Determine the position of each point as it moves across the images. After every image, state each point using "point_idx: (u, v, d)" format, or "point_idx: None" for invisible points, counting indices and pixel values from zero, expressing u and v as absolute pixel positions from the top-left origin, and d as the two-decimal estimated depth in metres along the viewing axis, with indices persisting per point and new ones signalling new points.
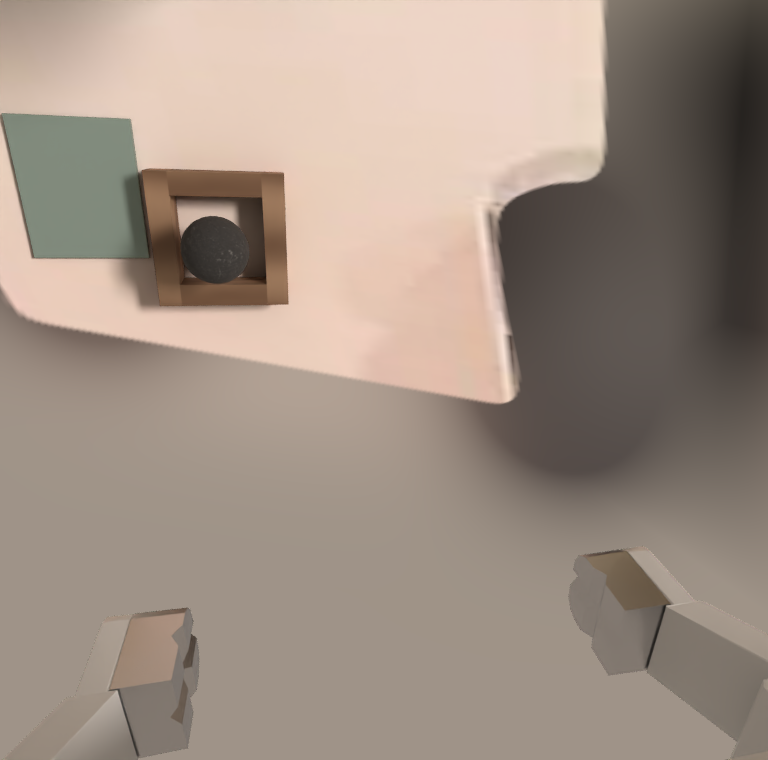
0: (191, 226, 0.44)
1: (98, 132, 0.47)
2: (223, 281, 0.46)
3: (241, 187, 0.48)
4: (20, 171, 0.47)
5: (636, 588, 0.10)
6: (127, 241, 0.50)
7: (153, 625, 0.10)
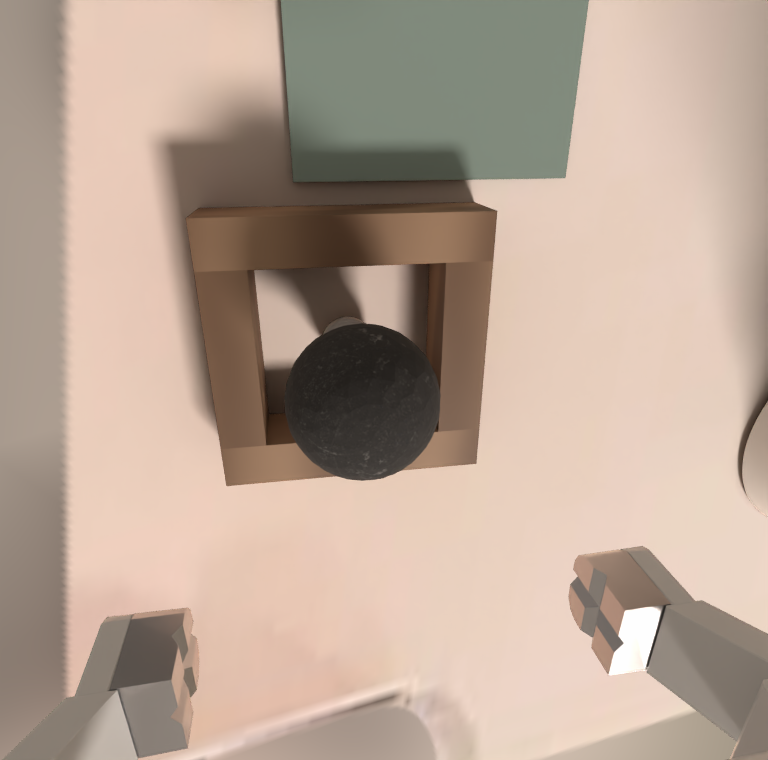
0: (426, 366, 0.18)
1: (548, 110, 0.23)
2: (299, 440, 0.18)
3: (456, 397, 0.25)
4: None
5: (636, 588, 0.10)
6: (328, 137, 0.22)
7: (153, 625, 0.10)
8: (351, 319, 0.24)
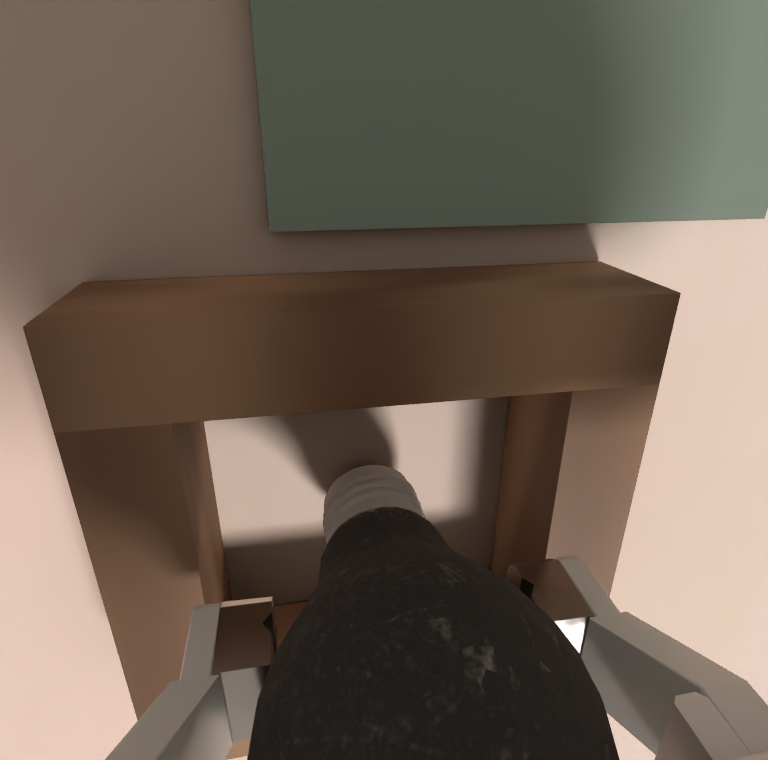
0: (595, 709, 0.07)
1: (754, 94, 0.12)
2: None
3: None
4: None
5: (562, 599, 0.10)
6: (339, 143, 0.11)
7: (242, 613, 0.10)
8: (379, 475, 0.13)
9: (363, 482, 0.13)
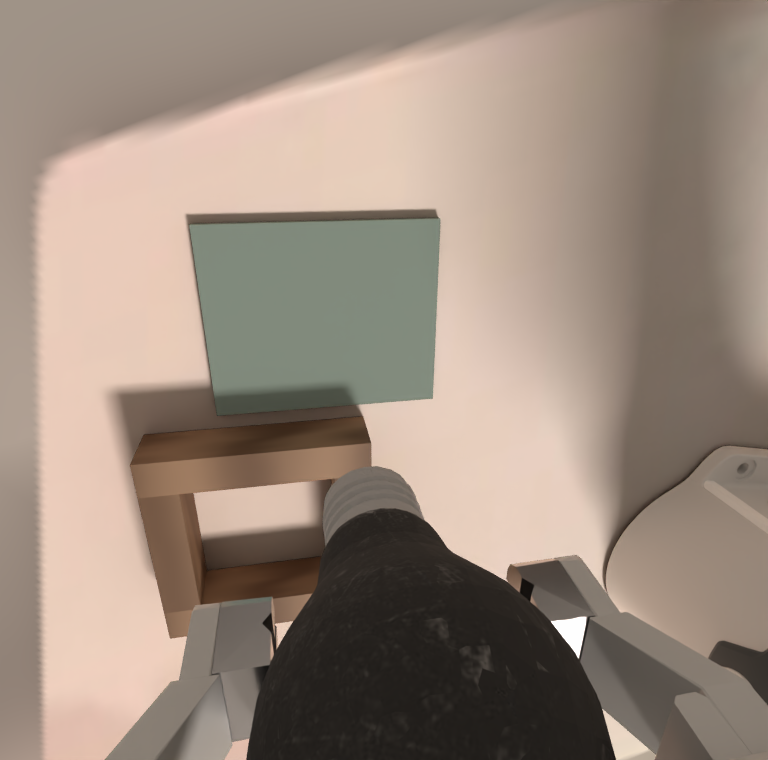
0: (591, 708, 0.07)
1: (414, 356, 0.30)
2: None
3: None
4: (349, 229, 0.26)
5: (562, 599, 0.10)
6: (242, 385, 0.28)
7: (242, 613, 0.10)
8: (378, 477, 0.13)
9: (362, 484, 0.13)
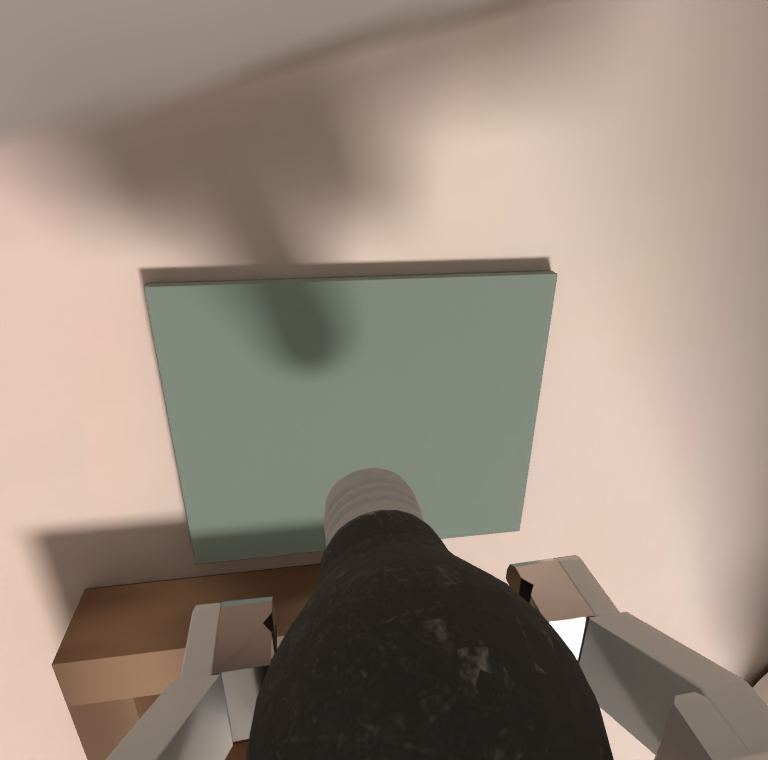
0: (589, 710, 0.07)
1: (497, 475, 0.19)
2: None
3: None
4: (411, 292, 0.16)
5: (561, 599, 0.10)
6: (235, 521, 0.18)
7: (243, 613, 0.10)
8: (379, 478, 0.13)
9: (363, 485, 0.13)
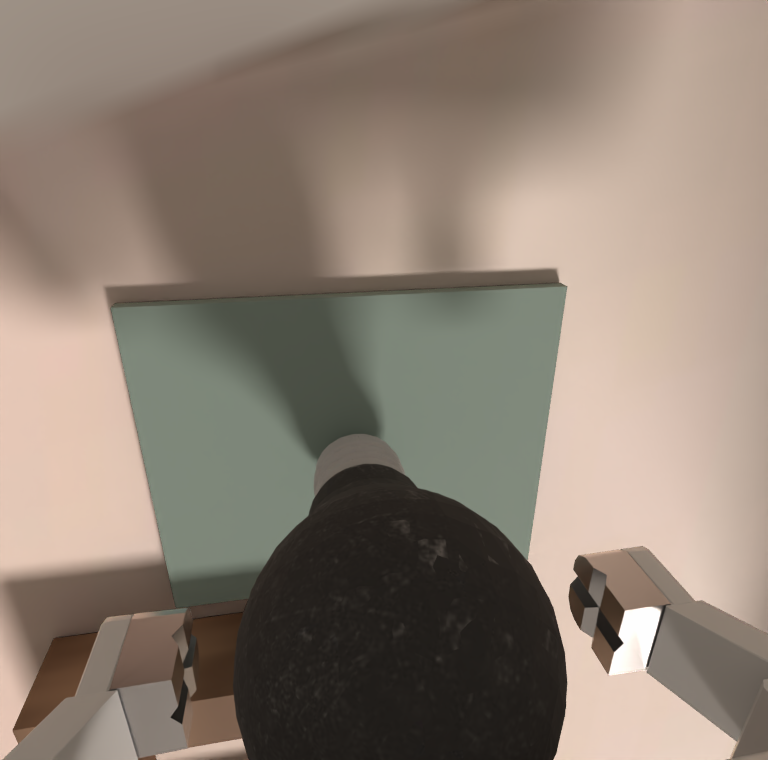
0: (539, 601, 0.08)
1: (503, 503, 0.18)
2: None
3: None
4: (408, 308, 0.14)
5: (636, 588, 0.10)
6: (218, 561, 0.17)
7: (153, 625, 0.10)
8: (364, 441, 0.14)
9: (349, 447, 0.14)
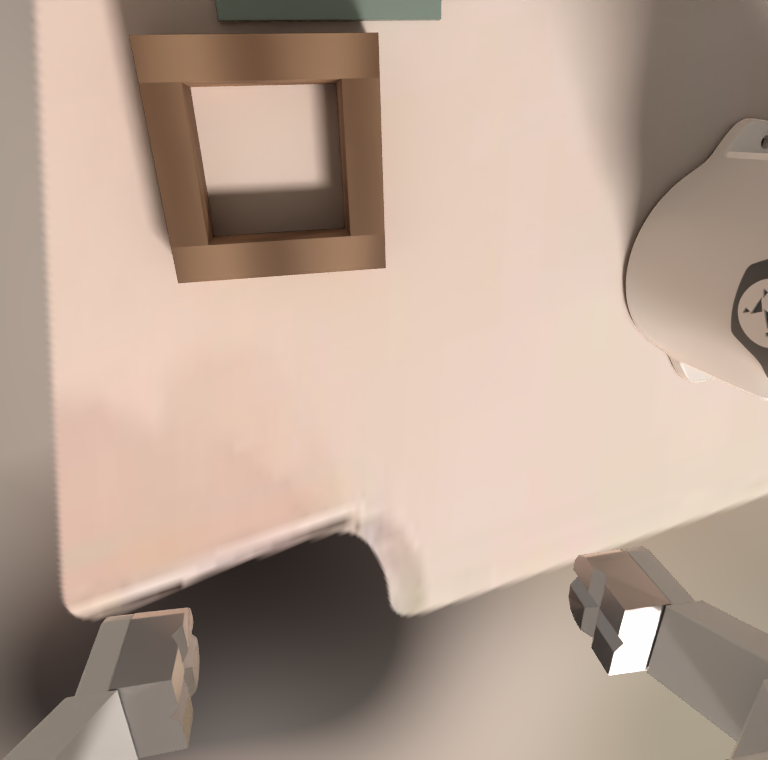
0: None
1: None
2: None
3: (362, 204, 0.30)
4: None
5: (636, 588, 0.10)
6: None
7: (153, 625, 0.10)
8: None
9: None
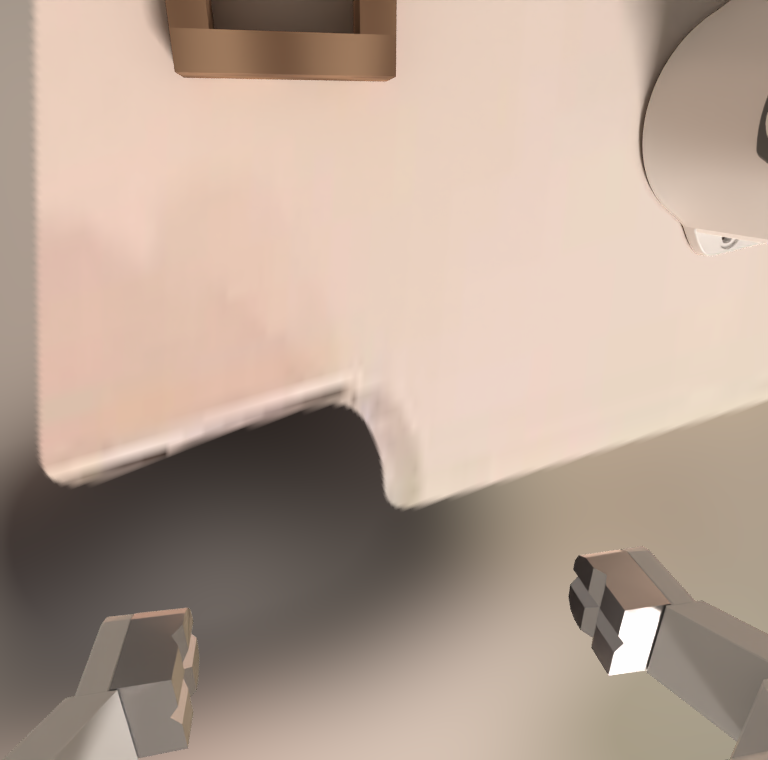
0: None
1: None
2: None
3: None
4: None
5: (636, 588, 0.10)
6: None
7: (153, 625, 0.10)
8: None
9: None
